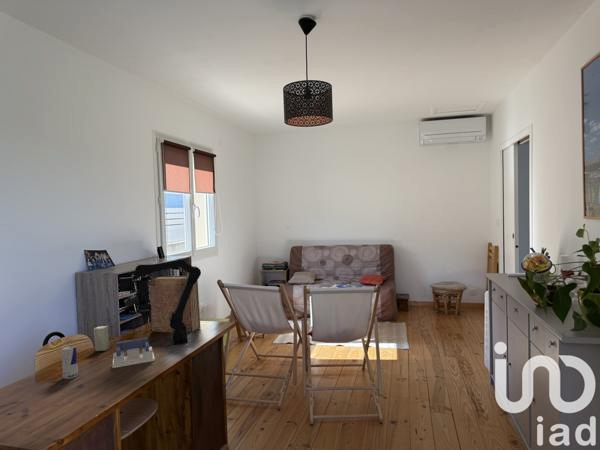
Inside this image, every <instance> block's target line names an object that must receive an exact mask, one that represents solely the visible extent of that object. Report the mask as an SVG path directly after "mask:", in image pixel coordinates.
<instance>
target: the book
mask: <svg viewBox="0 0 600 450" xmlns="http://www.w3.org/2000/svg"><path fill="white" fill-rule="evenodd" d="M186 277H187V275H162V276H161V275H160V276H156V277H152V280H148V282H149V297H150V304H151V307H152V309H151V312H150V323H151V333H167V334H172V333H173V330H174V329H172V328H171V327H170V325H169V320H168V317H169V316H170V312H171V311H172V312H174V310H175V309H176V307H177V304H178V302H179V299H180V297H181V294H182V291H183V289H184V286H185V284H186ZM198 281H199V279H198V280H197V281H196V283H195V284H194V286H193V288H192V291H191V293H190V296H189V299H188V301H187V304H186V306H185V309H184V312H183V320H182V322H183V323H184V324H185V326H186V327H187V328H186V330H187V334H190V333H192V334H193V333H194V332H195V331H196V330H200V329H201V315H200V314H201V313H200V299H199V284H198V283H199V282H198ZM199 328H200V329H199Z"/></svg>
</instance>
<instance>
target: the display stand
mask: <svg viewBox="0 0 600 450" xmlns="http://www.w3.org/2000/svg"><path fill="white" fill-rule="evenodd" d="M141 350H142V353H140V348H134V349H128V350H126V356H125V350H122V351H120V356H118V357H117V354H116V351H115V352H113V358H112V366H111V367H112V369H115V368H122V367H126V366H132V365H139V364H144V363H150V362H154V361H155V354H154V351H153V347H152V346H149V351H148V352H146V350H145V347H141Z"/></svg>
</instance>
